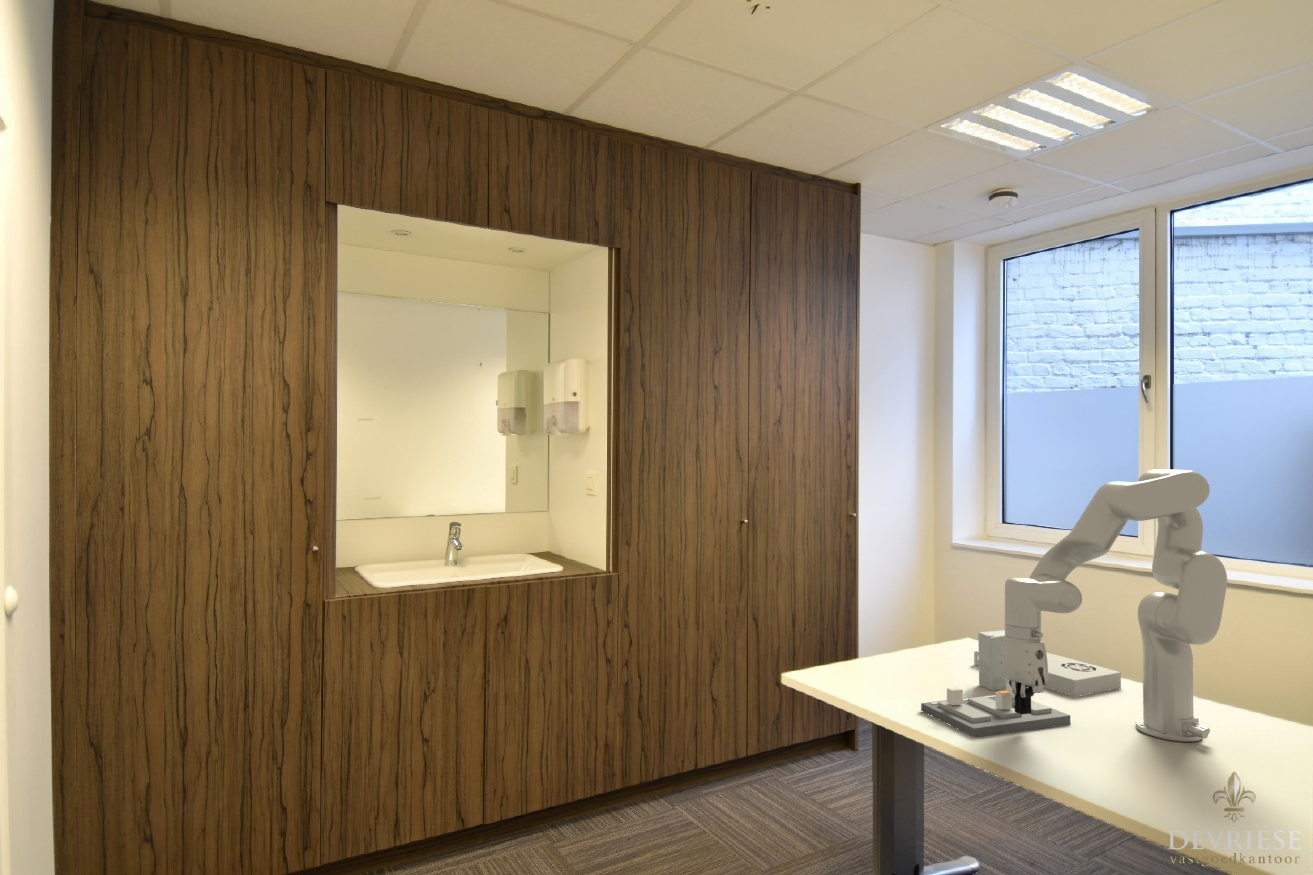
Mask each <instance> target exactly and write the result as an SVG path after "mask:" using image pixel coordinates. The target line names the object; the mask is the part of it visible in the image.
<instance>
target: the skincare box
mask: <svg viewBox="0 0 1313 875" xmlns="http://www.w3.org/2000/svg"><path fill="white" fill-rule="evenodd" d="M1004 635H1005V629H1000V630H993V631H991V630H990V631H979V632H978V637H977V638H978V652H979V665H978V683H979V685H980V686H981V687H982V688H983V687H984V688H986V689H987V690H989V689H990V690H989V691H991V690H992V692H993V691H994V692H997V691H1004V690H1005V691H1006V681H1005V680H1004V679H1003V675H1002V673H1001V648H1002V641H1003V637H1004ZM996 690H997V691H996Z"/></svg>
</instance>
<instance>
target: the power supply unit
mask: <svg viewBox="0 0 1313 875" xmlns="http://www.w3.org/2000/svg"><path fill="white" fill-rule="evenodd" d="M1046 655H1047V663H1048V684H1047V685H1043V686H1044V687H1043V688H1045V687H1046V689H1049V690H1051V689H1054V690H1053V691H1055V690H1057V691H1056V692H1058V691H1059V692H1058V693H1061V692H1062V693H1061V694H1064V693H1067V694H1070V695H1072V696H1071V697H1074V696H1078V697H1081V696H1080V695H1083V696H1086V695H1085V694H1088V695H1090V694H1089V693H1094V694H1097V692H1099V693H1102V692H1101V691H1104V692H1107V691H1106V690H1109V689H1114V690H1119V689H1118V688H1120V689H1122V688H1121V687H1122V677H1121V676H1122V675H1121V671H1118V670H1114V669H1111V668H1107V667H1104V666H1099V665H1096V664H1091V663H1087V662H1084V661H1080V660H1076V659H1073V658H1069V657H1066V656H1062V655H1058V654H1053V653H1050V652H1047V651H1046ZM973 658H974V659H973V662H974V663H973V665H974V666H976V667H979V651H974V652H973ZM1109 691H1110V690H1109ZM1067 694H1066V695H1067ZM1070 695H1069V696H1070Z"/></svg>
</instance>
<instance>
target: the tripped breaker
mask: <svg viewBox="0 0 1313 875" xmlns="http://www.w3.org/2000/svg"><path fill="white" fill-rule="evenodd" d="M994 692H995V693H994V695H995V701H996V708H999V709H1001V710H1004V709H1012V693H1010V692H1008V691H1006V690H997V691H994Z"/></svg>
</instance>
